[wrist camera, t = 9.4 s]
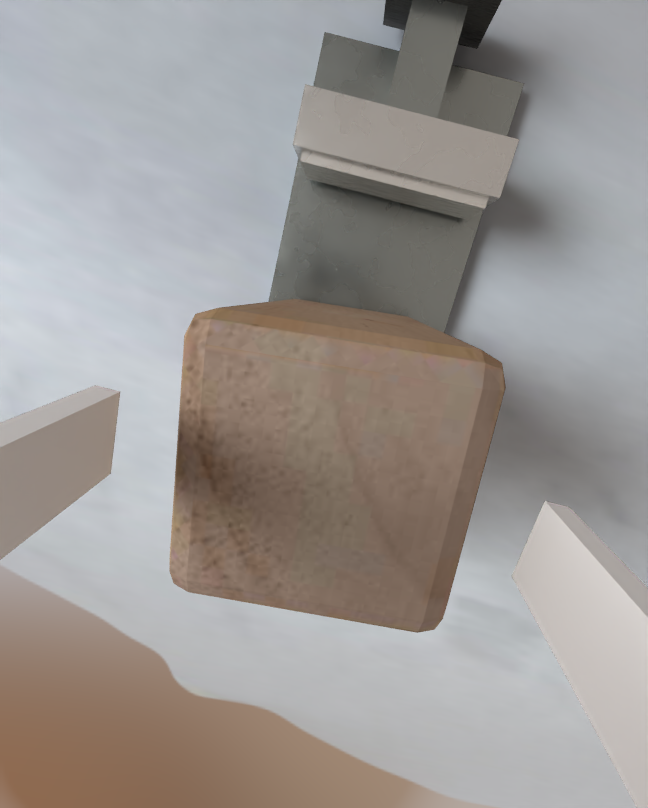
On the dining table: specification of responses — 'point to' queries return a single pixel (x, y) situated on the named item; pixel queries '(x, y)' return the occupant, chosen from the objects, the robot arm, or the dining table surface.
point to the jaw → (410, 121)
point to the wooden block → (328, 460)
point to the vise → (383, 206)
